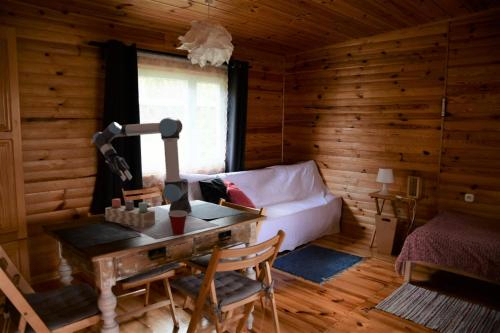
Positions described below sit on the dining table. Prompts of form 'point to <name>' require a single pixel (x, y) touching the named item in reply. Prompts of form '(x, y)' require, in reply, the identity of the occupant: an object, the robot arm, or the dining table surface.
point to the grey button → (129, 205)
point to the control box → (130, 216)
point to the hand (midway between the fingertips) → (127, 179)
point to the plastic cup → (177, 221)
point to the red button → (116, 203)
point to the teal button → (143, 207)
